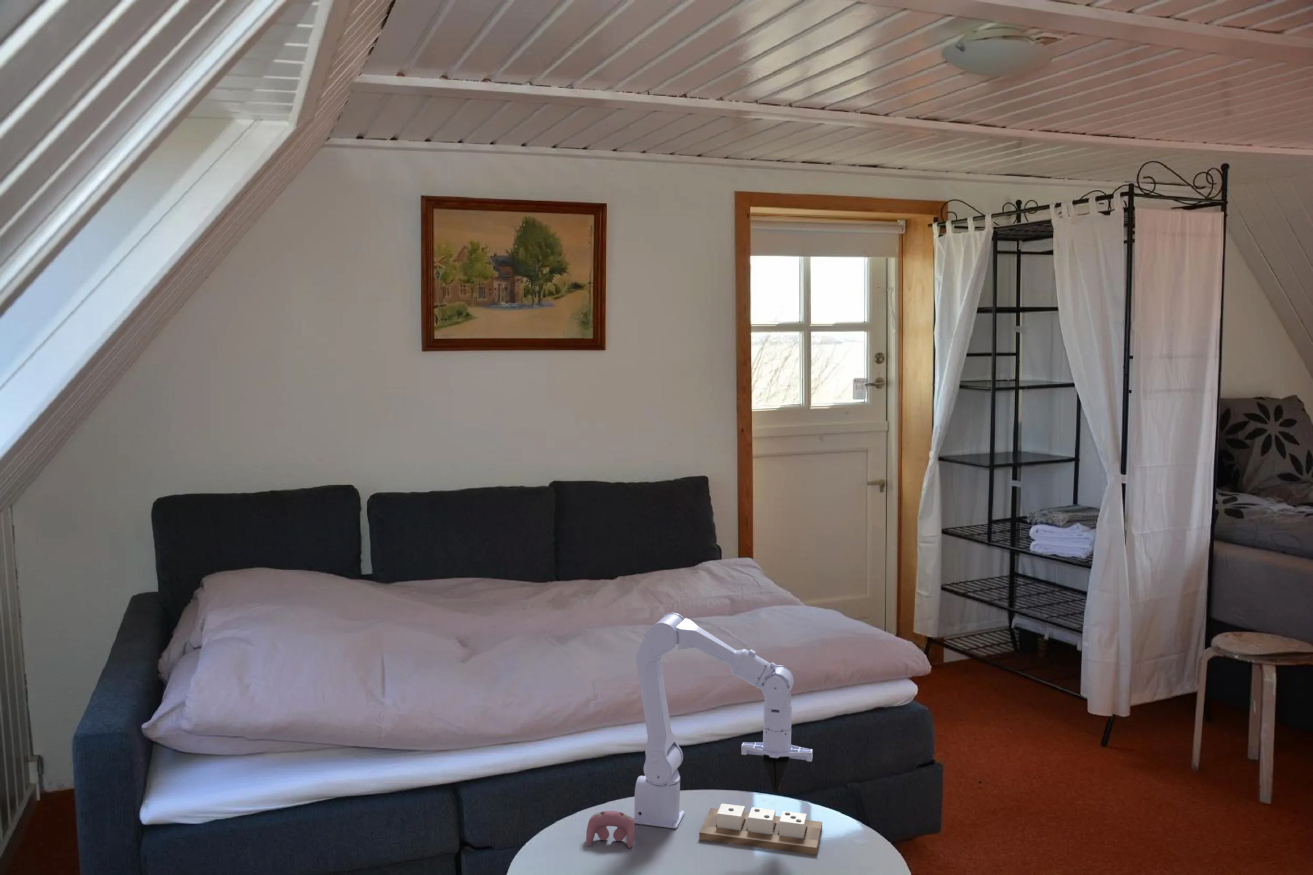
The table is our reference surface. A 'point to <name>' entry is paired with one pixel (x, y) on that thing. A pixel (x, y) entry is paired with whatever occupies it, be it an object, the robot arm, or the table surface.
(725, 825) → the one dot tile
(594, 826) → the video game controller
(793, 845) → the tile board
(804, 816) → the three dot tile
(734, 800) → the table surface
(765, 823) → the two dot tile
